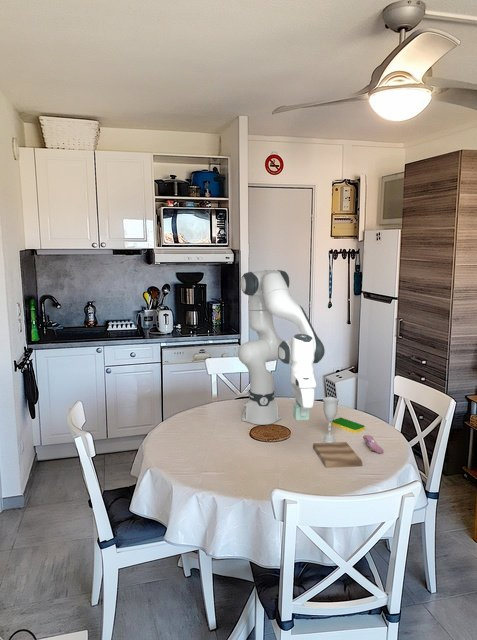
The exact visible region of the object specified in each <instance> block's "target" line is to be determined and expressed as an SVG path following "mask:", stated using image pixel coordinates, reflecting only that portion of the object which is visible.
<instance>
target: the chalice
mask: <svg viewBox="0 0 477 640" xmlns="http://www.w3.org/2000/svg"><path fill="white" fill-rule="evenodd" d="M339 401H340V399H338V398H336V397H332V396H327V397H323V398H322V402H323V414H324V417H325V418H326V419H325V420H326V421H328V424H327V427H328V428H327V431H328V432H327V434H325V436H324V438H323V439H322V441H323V442H324V443H332V442H336V439H335V436H334V435H333V434H332V426H333V425H331V422H332V421H333V420H335V419H336V415H337V413H338V403H339Z"/></svg>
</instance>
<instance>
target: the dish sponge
mask: <svg viewBox="0 0 477 640" xmlns="http://www.w3.org/2000/svg"><path fill="white" fill-rule="evenodd" d="M331 425H332V426H334V427H337V428H339V429H342V430H345V431H348V432H351V433H352V434H357V433H360V432H362V431H365V428H366V427H365V425H364V424H361V423H358V422H356V421H353V420H349V419H346V418H343V417H338V418H334V420H333V421H331Z"/></svg>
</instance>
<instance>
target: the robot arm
mask: <svg viewBox="0 0 477 640" xmlns="http://www.w3.org/2000/svg"><path fill="white" fill-rule="evenodd" d="M240 288H241V291H242V293H243V294H244V295H246V296H248V306H247V307H248V325H249V327H250V329H251V330H252V331H255V332H256V334H257V336H258V339H256V340H255V339H254V340H249V341H246V342H244V343H241V344H240V345H239V346H238V348H237V357H238V360H239V361H240V362H241V364H243V365H244V366H245V367H246V369H247V371H248V375H249V381H250V382H249V384H250V387H249V388H250V389H249V393H248V399H247V402H246V403H245V402H244V403H243V413H242V415H241V416H242V417H241V421H242V422H248V423H250V424H254V425H260V426H261V425H265V426H266V425H272V424H274V423H276V422H277V421H280V420H282V417H281V416H280V415H279V414H278V413H279V411H278V402H277V401H276V400H275V396H276V395H275V390H274V387H275V386H274V385H275V382H274V381H275V380H274V379H275V378H274V374H273V373H272V372H271V371H270V370H268V369H267V365H266V364H267V363H270V362H275V361H278V360H280V361H281V362H282V363H283V364H286V365H291V367H290V377H289V378H290V379H289V381H290V383H291V390H290V391H291V394H292V395H293V397H294V398H295V403H299V404H300V405H301V413H300V414H301V415H302V416H306V410H307V409H309V410H310V409H313V407H314V401H315V388H316V387H317V382H316V380H315V369H314V364H318V363H319V362H320V361H322V360H323V358H324V356H325V346H324V344H323V341H322V340H321V339H320V338H319V336H318V334H317V332H316V330H315V329H314V326H313V325H312V323H311V321H310V319H309V318H308V316H307V314H306V311H305V309H304V308H303V306H301V305H300V304H298V303H297V302H296V301H295V300H294V298H293V297H292V295H291V293H290V290H289V288H290V277H289V274H288V273H287V272H286V271H284V270H283V269H281V270H280V269H278V270H271V269H266V270H265V269H264V270H259V271H258V270H256V271H248V272H245V273H244V274H243V275H242V276H241V279H240ZM274 317H277V318H280V319H284V320H287V321H289V322H292V323H294V324H295V325H296V327H297V328H298V330H299V332H300V333H297V334H294V335H293V336H292V338H290V339H289V338H288V339H285V340H284V339H282V338H280V336H278V333H277V331H276V328H275V326H274Z"/></svg>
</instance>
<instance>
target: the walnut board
mask: <svg viewBox="0 0 477 640" xmlns="http://www.w3.org/2000/svg"><path fill="white" fill-rule="evenodd" d="M347 442H348V441H339V442H338V441H335V442H332V443H328V442H316V443H315V442H313V445H312V449H313V450H314V452H315V453H316V455H317V456H318V458H319V459H320V461H321V462H322V464H323V465H324V467H325V468H329V469H330V468H350V467H362V466H363V460H362V459H361V457H359V456H358V454H357V453H356V452H355V451H354V450H353V449H352V447H351V446H350V444H349V443H347Z"/></svg>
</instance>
